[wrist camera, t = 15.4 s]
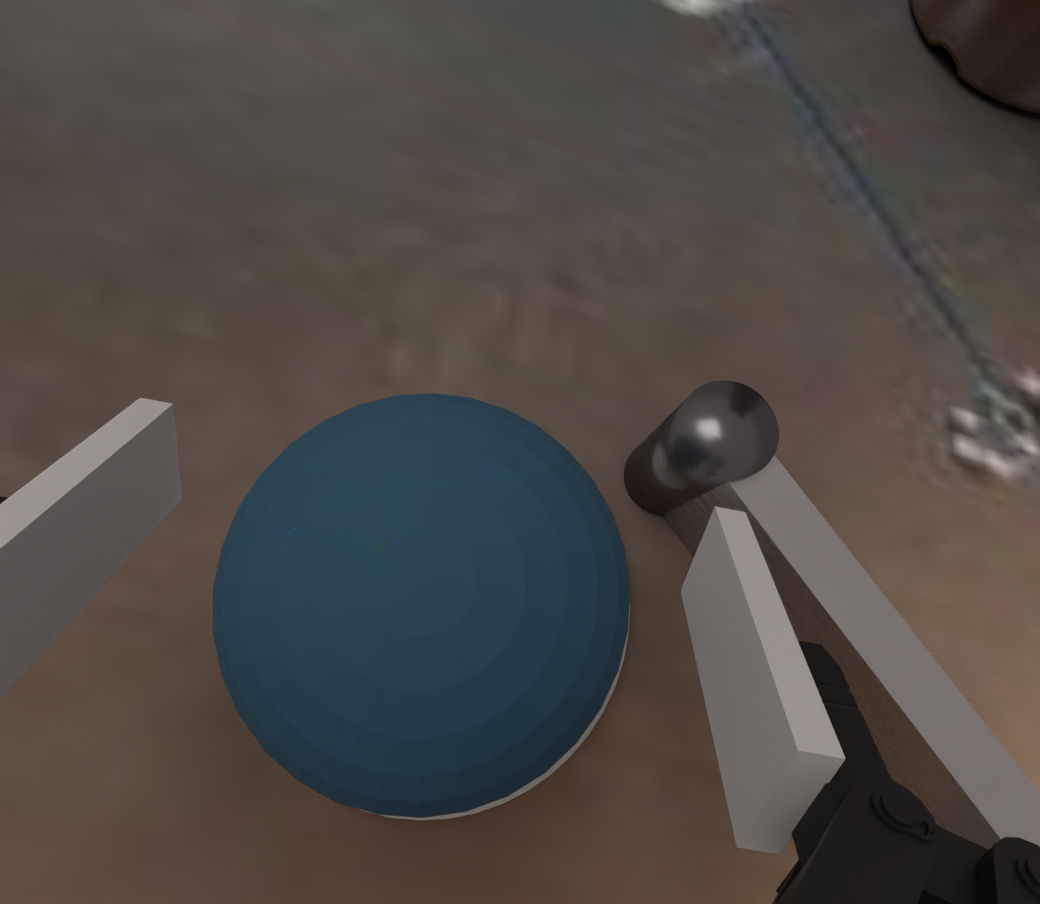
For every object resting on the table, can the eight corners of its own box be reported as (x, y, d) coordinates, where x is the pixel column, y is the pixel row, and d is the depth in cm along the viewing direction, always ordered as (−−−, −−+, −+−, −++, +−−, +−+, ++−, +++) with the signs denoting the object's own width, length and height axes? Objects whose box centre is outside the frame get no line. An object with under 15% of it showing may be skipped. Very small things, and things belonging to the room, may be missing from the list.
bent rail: (368, 632, 22) (331, 638, 16) (667, 426, 25) (735, 362, 18) (694, 1148, 19) (803, 1399, 13) (991, 853, 22) (1199, 945, 16)
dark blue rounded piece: (588, 706, 21) (757, 810, 10) (322, 769, 20) (147, 976, 8) (535, 457, 23) (622, 292, 11) (289, 500, 22) (108, 362, 10)
